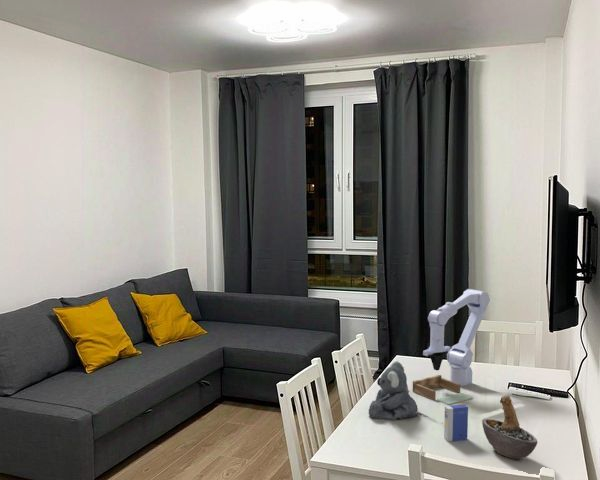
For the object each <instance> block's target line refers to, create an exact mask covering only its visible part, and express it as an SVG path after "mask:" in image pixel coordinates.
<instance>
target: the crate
mask: <svg viewBox="0 0 600 480" xmlns="http://www.w3.org/2000/svg"><path fill="white" fill-rule="evenodd" d="M438 387H440V388H442V389H445V390H448V391H451V392H454V393H455V394H457V393H461V387H462V386H461V384H458V383H455V382H452V381H450V379H446V378H443V377H442V375H441V374H437V375H433V376H430V377H429V376H428V377H425V378H421V379H417V380H412V392H413V393H414V394H417V395H420V396H422V397H424V398H427V399H429V400H431V401H435V400H436V398H437V397H436V395H437V394H436V390H434V388H438Z"/></svg>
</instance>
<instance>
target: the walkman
mask: <svg viewBox="0 0 600 480" xmlns="http://www.w3.org/2000/svg"><path fill="white" fill-rule="evenodd" d="M443 422H444V425H443V427H444V428H443V429H444V434H443V438H444V440H445V441H446V442H454V441H455V442H456V441H463V440H468V431H469V430H468V429H469V428H468V427H469V426H468V423H469V407H468V406H467V405H466V404H465V403H459V404H452V405H446V406H445V405H444V421H443Z"/></svg>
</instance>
